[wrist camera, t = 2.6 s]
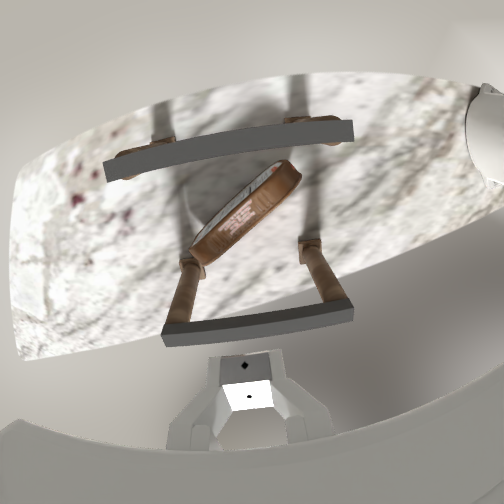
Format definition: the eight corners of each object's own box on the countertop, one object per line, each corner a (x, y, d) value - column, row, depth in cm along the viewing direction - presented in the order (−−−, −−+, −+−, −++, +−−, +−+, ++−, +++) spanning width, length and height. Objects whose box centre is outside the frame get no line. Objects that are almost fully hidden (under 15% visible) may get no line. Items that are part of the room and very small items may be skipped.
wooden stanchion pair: (308, 116, 29) (347, 111, 18) (320, 258, 37) (350, 313, 26) (151, 142, 30) (106, 152, 18) (185, 278, 38) (167, 339, 27)
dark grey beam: (348, 297, 25) (354, 307, 23) (347, 310, 26) (352, 320, 24) (163, 324, 25) (160, 335, 24) (169, 336, 26) (166, 347, 25)
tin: (208, 248, 36) (200, 282, 28) (190, 232, 35) (177, 262, 27) (295, 170, 32) (313, 184, 25) (278, 151, 31) (291, 158, 23)
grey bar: (344, 119, 18) (352, 119, 17) (346, 140, 19) (354, 141, 17) (111, 159, 18) (102, 162, 17) (115, 178, 19) (107, 182, 18)
